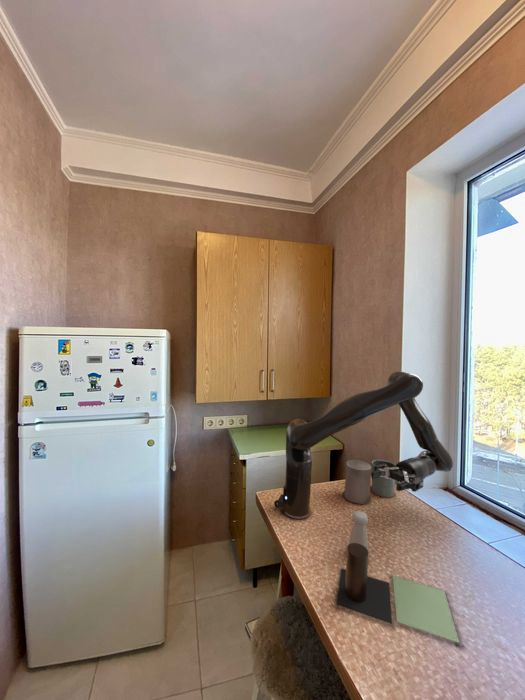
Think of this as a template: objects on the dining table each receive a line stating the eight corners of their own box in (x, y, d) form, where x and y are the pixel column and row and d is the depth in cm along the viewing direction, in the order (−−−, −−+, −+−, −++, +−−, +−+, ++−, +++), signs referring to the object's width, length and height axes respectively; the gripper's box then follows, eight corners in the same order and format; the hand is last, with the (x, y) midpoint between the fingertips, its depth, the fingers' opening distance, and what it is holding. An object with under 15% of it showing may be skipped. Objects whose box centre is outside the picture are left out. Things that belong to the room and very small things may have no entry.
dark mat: (336, 607, 69) (336, 604, 69) (341, 570, 80) (341, 568, 80) (391, 626, 65) (392, 623, 65) (389, 585, 76) (389, 582, 76)
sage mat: (396, 624, 65) (396, 621, 65) (392, 577, 79) (392, 575, 79) (459, 645, 61) (459, 643, 61) (444, 593, 74) (444, 590, 74)
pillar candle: (357, 490, 125) (359, 455, 125) (374, 501, 117) (376, 464, 116) (339, 494, 121) (341, 458, 121) (356, 506, 112) (358, 467, 112)
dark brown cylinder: (344, 598, 71) (346, 553, 70) (345, 582, 76) (348, 540, 75) (365, 605, 69) (368, 559, 69) (366, 589, 74) (368, 546, 73)
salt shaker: (369, 567, 82) (372, 521, 82) (348, 563, 83) (351, 518, 83) (366, 552, 88) (369, 509, 87) (346, 548, 89) (349, 506, 88)
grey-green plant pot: (383, 500, 118) (385, 470, 118) (364, 488, 127) (366, 461, 127) (400, 495, 123) (402, 466, 122) (381, 484, 132) (382, 457, 131)
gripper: (393, 452, 106) (365, 461, 97) (434, 467, 94) (407, 479, 85) (392, 473, 106) (364, 484, 97) (433, 490, 95) (406, 504, 85)
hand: (384, 481), depth 91 cm, fingers open, 8 cm apart
